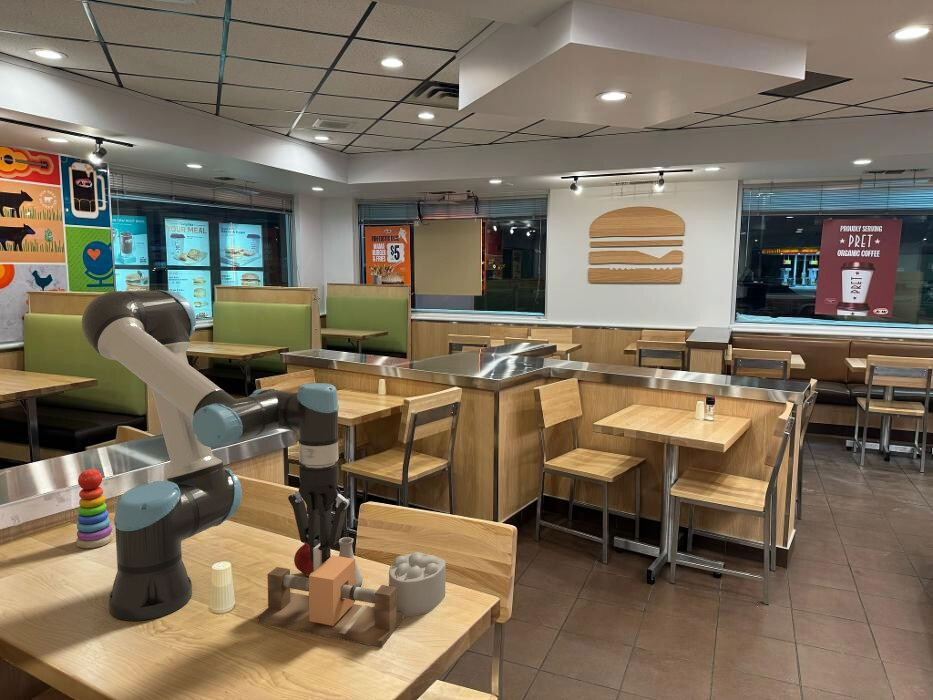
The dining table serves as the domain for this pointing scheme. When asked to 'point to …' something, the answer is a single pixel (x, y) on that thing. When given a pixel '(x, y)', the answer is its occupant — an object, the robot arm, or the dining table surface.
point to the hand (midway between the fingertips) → (320, 576)
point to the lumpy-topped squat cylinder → (418, 582)
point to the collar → (330, 590)
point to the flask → (350, 556)
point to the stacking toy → (92, 512)
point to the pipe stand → (352, 626)
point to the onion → (304, 560)
